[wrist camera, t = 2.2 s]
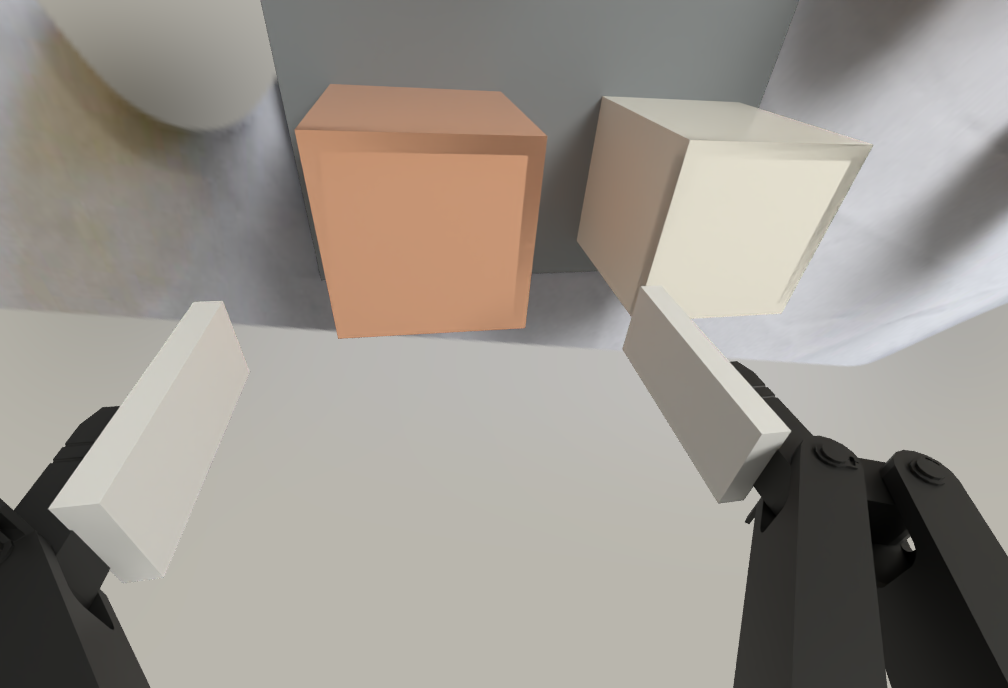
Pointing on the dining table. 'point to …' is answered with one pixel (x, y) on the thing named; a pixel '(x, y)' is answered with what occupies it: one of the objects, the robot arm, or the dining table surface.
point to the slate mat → (531, 69)
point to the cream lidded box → (710, 201)
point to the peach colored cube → (423, 207)
